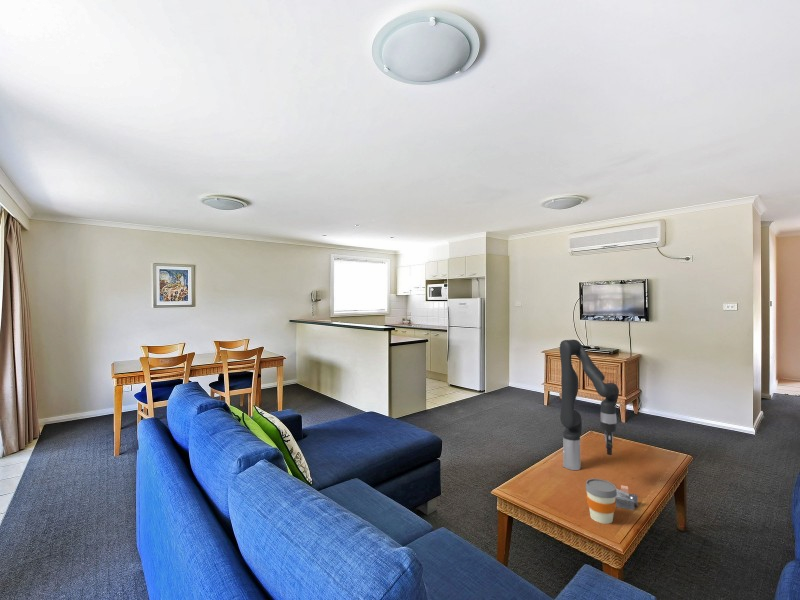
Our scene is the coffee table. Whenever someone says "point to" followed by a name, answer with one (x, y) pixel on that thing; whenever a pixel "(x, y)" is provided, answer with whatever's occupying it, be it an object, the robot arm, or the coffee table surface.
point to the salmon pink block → (624, 488)
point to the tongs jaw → (625, 503)
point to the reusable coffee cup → (601, 500)
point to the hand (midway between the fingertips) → (608, 451)
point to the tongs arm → (627, 496)
